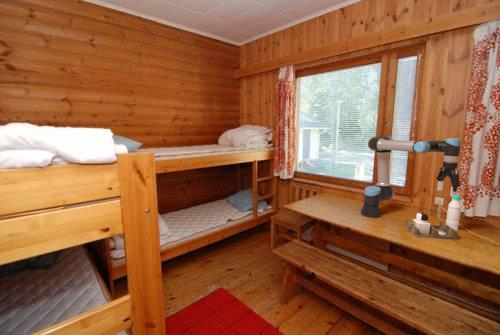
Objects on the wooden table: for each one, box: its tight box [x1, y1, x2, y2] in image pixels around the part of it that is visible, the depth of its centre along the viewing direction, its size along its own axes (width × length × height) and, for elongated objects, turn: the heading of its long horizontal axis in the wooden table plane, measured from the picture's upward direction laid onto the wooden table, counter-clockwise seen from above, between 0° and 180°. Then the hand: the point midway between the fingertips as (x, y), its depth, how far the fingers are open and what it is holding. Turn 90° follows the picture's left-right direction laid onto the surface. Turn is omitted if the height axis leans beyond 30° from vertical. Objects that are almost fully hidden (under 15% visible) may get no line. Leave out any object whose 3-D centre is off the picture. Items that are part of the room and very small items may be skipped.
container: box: [412, 212, 432, 235], centre depth 165 cm, size 8×8×13 cm
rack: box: [403, 219, 459, 241], centre depth 164 cm, size 18×24×6 cm
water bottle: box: [445, 195, 462, 231], centre depth 168 cm, size 7×7×25 cm
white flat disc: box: [437, 229, 446, 236], centre depth 164 cm, size 8×8×1 cm
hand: (446, 193), depth 160 cm, fingers open, 13 cm apart
